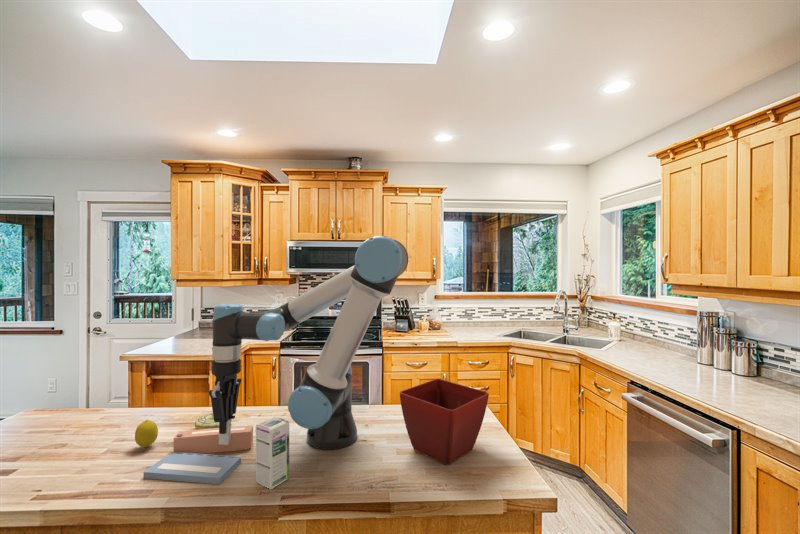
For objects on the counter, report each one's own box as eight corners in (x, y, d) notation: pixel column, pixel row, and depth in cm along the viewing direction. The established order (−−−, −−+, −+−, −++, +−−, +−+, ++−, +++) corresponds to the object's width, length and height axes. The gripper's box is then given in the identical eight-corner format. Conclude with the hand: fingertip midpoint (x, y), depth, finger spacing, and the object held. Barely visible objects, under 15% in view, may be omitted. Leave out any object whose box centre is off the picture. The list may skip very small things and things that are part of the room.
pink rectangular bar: (253, 441, 113) (253, 423, 113) (250, 448, 109) (250, 430, 108) (178, 448, 108) (179, 430, 108) (173, 456, 104) (173, 437, 104)
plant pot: (489, 449, 110) (490, 392, 110) (451, 476, 96) (452, 410, 96) (437, 429, 123) (437, 377, 123) (396, 450, 109) (397, 392, 109)
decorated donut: (234, 430, 121) (234, 418, 121) (196, 438, 115) (197, 426, 115) (228, 418, 130) (228, 407, 129) (193, 425, 123) (193, 414, 123)
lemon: (146, 453, 105) (146, 425, 105) (129, 451, 106) (129, 423, 106) (162, 444, 111) (162, 417, 111) (146, 442, 112) (146, 415, 112)
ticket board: (241, 462, 101) (241, 456, 101) (219, 484, 91) (219, 477, 91) (172, 457, 103) (172, 451, 103) (143, 478, 93) (143, 471, 93)
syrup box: (271, 490, 89) (271, 429, 89) (254, 482, 92) (255, 423, 92) (289, 478, 94) (290, 421, 94) (274, 471, 97) (274, 415, 97)
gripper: (226, 353, 113) (224, 433, 113) (200, 364, 100) (197, 453, 100) (250, 354, 112) (248, 434, 112) (227, 365, 99) (224, 455, 99)
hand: (224, 443), depth 106 cm, fingers closed
